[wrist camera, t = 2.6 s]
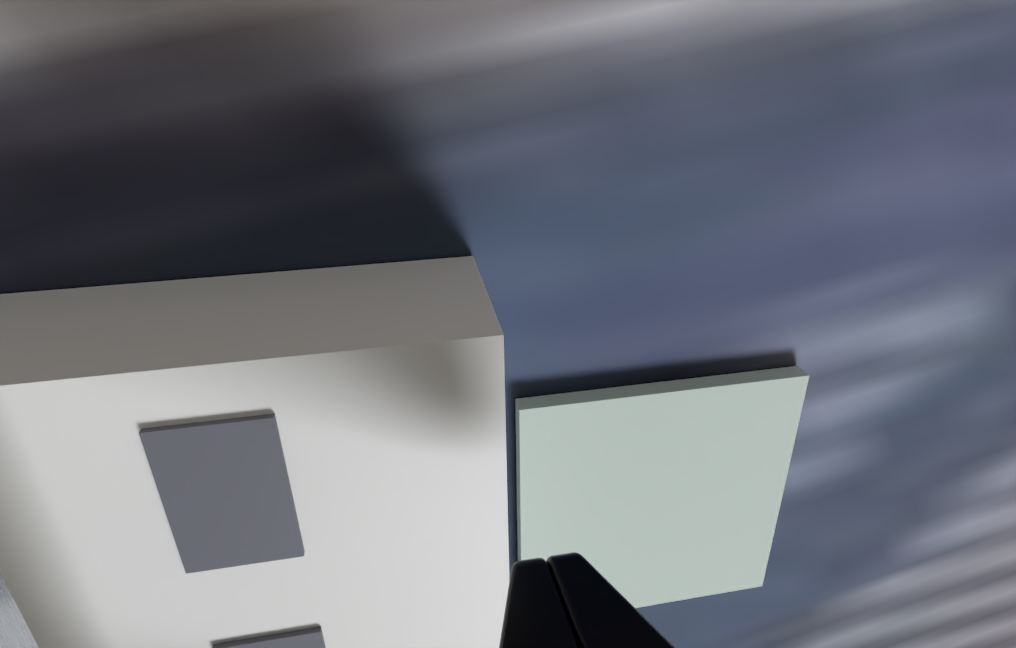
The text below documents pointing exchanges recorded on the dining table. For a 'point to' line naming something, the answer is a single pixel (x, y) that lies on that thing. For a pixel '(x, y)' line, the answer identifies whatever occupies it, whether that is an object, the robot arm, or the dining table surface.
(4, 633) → the clip
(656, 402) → the mat
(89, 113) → the dining table surface
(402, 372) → the power strip
